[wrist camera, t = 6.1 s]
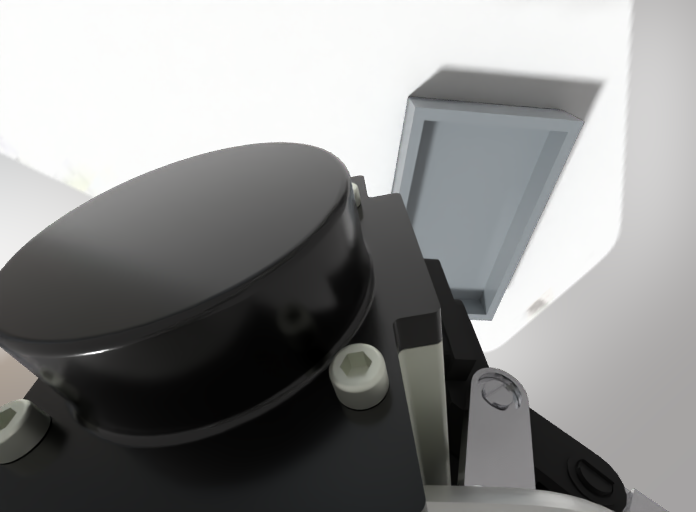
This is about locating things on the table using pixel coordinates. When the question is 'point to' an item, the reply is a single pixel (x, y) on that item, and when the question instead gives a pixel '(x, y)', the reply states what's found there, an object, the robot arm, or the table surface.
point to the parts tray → (479, 187)
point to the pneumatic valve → (226, 346)
